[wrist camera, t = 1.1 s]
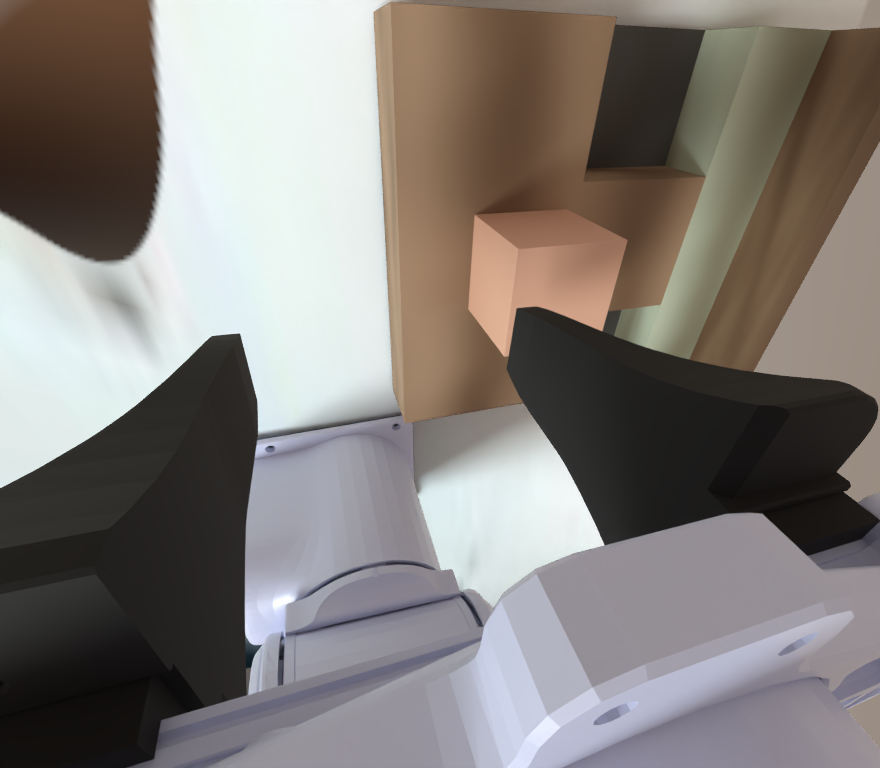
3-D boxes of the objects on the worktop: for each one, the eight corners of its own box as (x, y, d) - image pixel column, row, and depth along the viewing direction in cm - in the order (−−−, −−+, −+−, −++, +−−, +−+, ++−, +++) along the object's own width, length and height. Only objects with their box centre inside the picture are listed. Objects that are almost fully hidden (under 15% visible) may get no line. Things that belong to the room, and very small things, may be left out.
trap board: (393, 389, 24) (419, 466, 19) (373, 12, 15) (415, -12, 10) (662, 347, 28) (736, 402, 24) (781, 35, 19) (942, 26, 14)
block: (468, 309, 19) (504, 356, 16) (474, 214, 17) (518, 248, 14) (550, 299, 20) (598, 343, 17) (567, 209, 18) (627, 240, 14)
